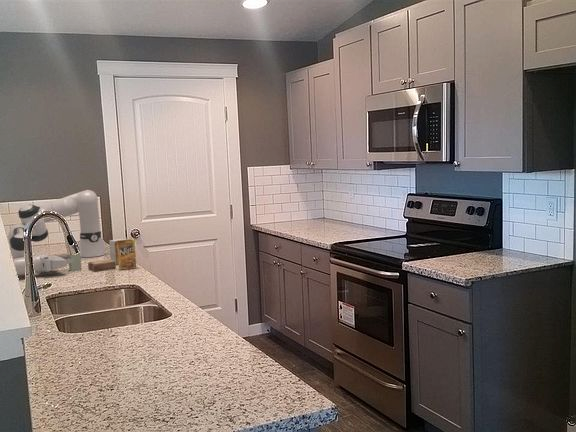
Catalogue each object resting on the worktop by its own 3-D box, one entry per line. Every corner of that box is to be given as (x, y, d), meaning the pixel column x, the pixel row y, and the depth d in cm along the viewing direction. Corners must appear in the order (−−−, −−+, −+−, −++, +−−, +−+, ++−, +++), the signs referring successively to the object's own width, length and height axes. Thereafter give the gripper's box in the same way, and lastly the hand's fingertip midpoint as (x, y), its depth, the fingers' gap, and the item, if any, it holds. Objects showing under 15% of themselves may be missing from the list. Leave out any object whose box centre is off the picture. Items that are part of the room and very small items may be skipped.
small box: (116, 265, 318) (114, 241, 317) (110, 263, 323) (108, 240, 321) (129, 262, 324) (128, 239, 322) (124, 261, 328) (122, 238, 327)
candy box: (119, 270, 304) (116, 240, 302) (118, 268, 308) (116, 239, 306) (136, 268, 307) (134, 239, 305) (136, 266, 311) (134, 238, 309)
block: (69, 270, 310) (67, 247, 309) (78, 268, 313) (76, 246, 312) (71, 271, 306) (69, 248, 305) (81, 269, 310) (79, 246, 308)
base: (88, 269, 310) (87, 261, 309) (108, 266, 316) (108, 258, 316) (95, 271, 302) (94, 264, 302) (115, 268, 309) (115, 260, 308)
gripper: (37, 266, 308) (64, 262, 316) (48, 272, 292) (77, 267, 300) (36, 254, 307) (63, 251, 315) (47, 259, 291) (76, 255, 299)
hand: (70, 259), depth 307 cm, fingers open, 8 cm apart
